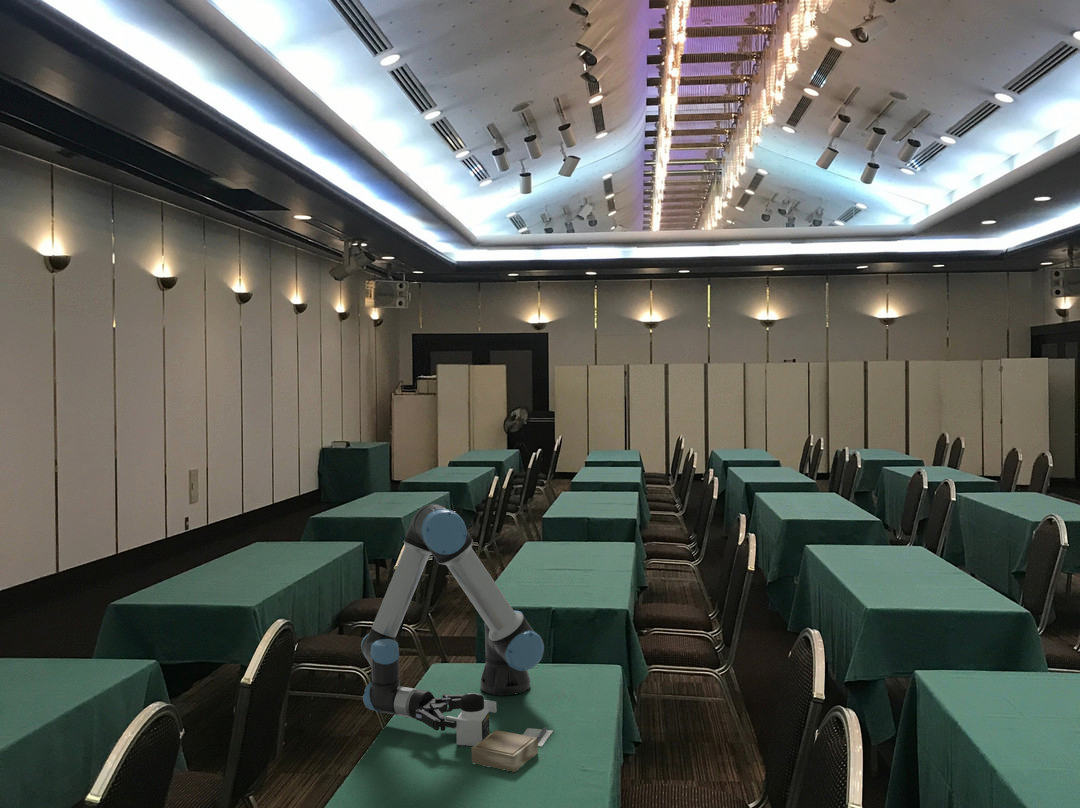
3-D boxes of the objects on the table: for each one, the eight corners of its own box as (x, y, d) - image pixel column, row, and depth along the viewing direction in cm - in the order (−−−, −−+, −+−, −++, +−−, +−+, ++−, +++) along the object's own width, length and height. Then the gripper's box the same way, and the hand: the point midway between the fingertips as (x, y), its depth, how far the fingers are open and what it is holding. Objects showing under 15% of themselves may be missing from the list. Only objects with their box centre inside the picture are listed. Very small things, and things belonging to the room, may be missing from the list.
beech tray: (496, 745, 235) (496, 729, 235) (537, 753, 229) (537, 736, 229) (471, 763, 224) (471, 746, 224) (514, 772, 219) (514, 755, 218)
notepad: (527, 731, 244) (527, 724, 244) (552, 734, 242) (552, 727, 242) (516, 747, 235) (516, 739, 235) (542, 749, 233) (542, 742, 233)
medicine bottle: (483, 747, 234) (481, 701, 233) (456, 745, 235) (455, 699, 235) (490, 736, 241) (488, 691, 240) (464, 734, 242) (462, 689, 242)
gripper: (441, 701, 257) (506, 713, 247) (387, 734, 235) (456, 748, 225) (440, 675, 257) (506, 686, 247) (386, 705, 235) (455, 718, 225)
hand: (482, 716), depth 236 cm, fingers open, 13 cm apart
